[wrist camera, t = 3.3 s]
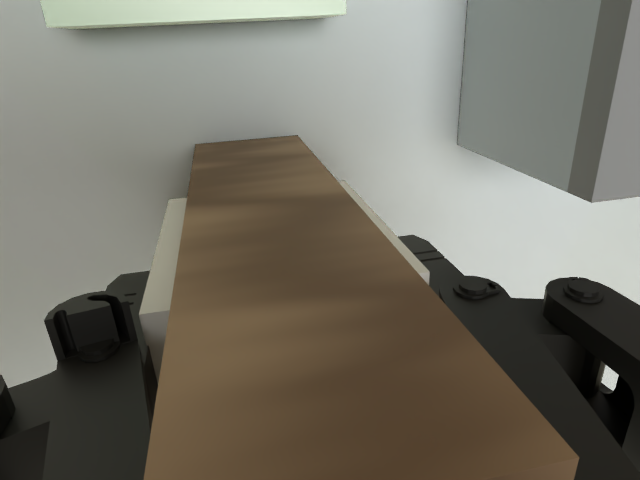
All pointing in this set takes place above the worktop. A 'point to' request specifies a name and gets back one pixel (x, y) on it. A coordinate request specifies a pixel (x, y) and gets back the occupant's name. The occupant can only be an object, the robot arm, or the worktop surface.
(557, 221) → the worktop surface
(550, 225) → the worktop surface
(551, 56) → the grey box with hole
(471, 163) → the worktop surface
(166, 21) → the green square tray
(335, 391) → the brown wooden block
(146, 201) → the worktop surface
